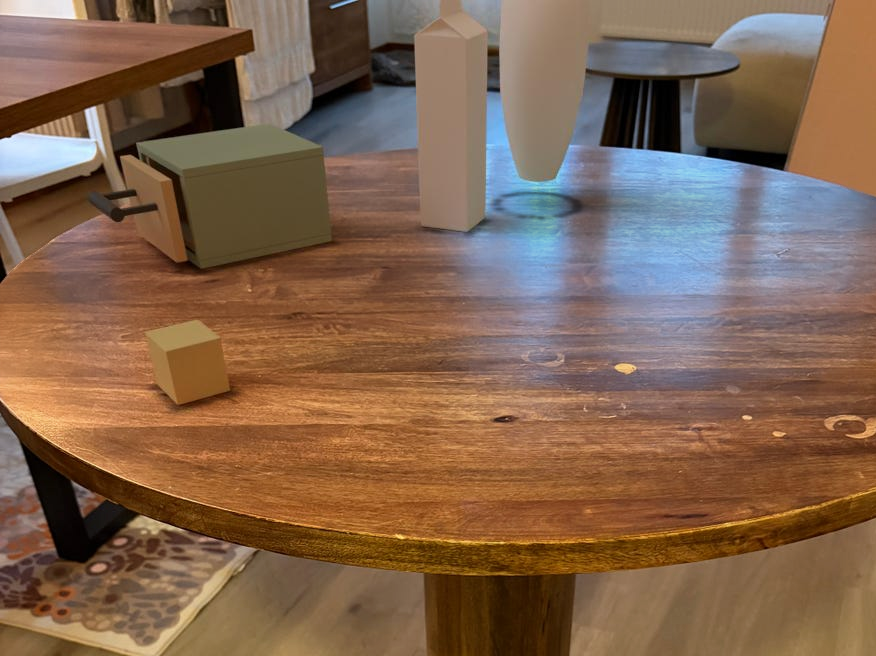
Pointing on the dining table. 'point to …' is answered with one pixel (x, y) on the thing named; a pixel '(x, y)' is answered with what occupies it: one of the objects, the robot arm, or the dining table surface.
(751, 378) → the dining table surface
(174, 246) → the drawer
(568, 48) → the cream tapered vase
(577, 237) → the dining table surface
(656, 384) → the dining table surface
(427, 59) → the milk
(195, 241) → the cabinet
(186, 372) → the block
